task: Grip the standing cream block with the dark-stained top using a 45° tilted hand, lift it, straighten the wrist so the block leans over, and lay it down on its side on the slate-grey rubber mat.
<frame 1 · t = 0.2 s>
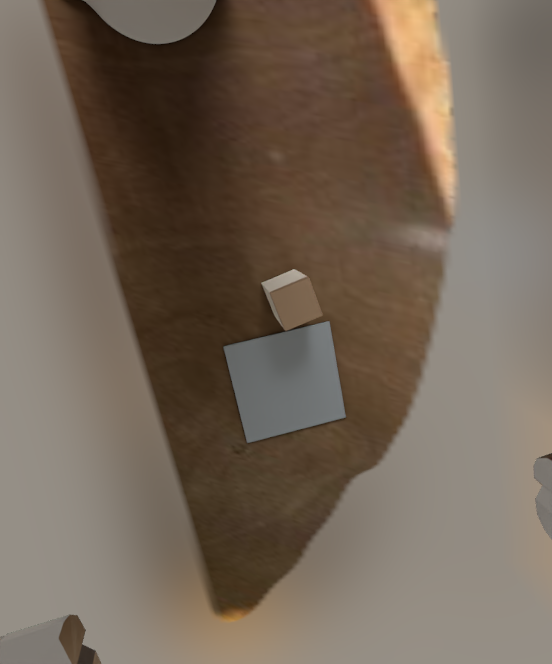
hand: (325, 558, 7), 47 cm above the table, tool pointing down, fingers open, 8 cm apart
slate mat: (286, 382, 58), on the table
cream block: (284, 292, 55), on the table
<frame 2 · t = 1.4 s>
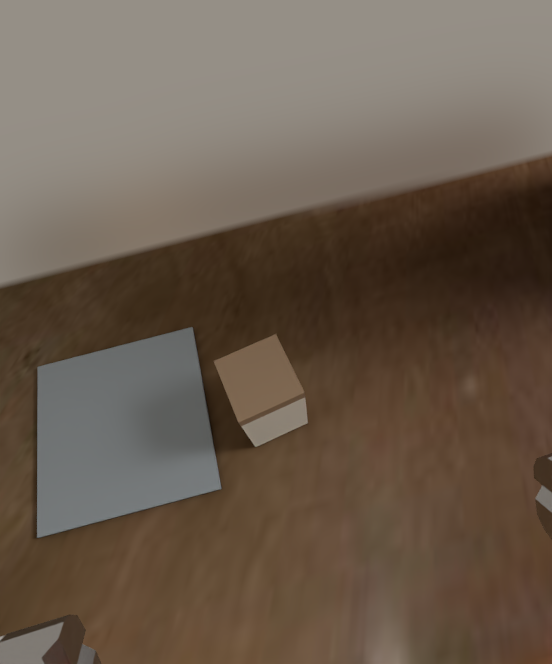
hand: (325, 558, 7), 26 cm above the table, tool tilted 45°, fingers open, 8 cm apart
slate mat: (123, 423, 36), on the table
cream block: (270, 409, 35), on the table
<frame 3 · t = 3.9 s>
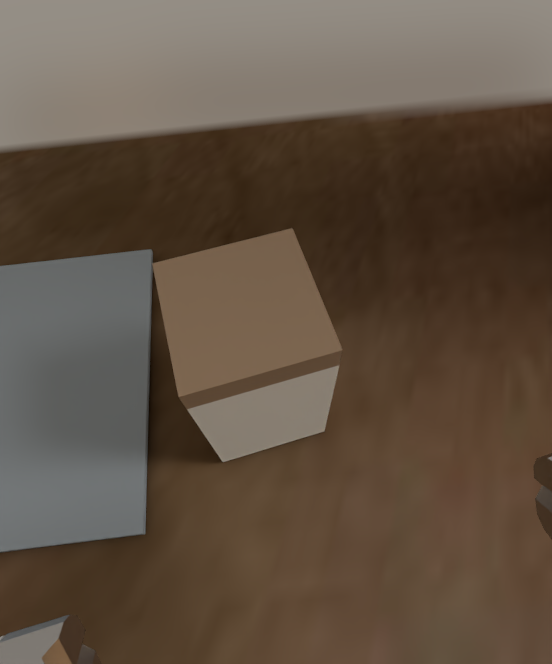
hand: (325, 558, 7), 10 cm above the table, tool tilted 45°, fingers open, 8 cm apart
cream block: (260, 398, 20), on the table
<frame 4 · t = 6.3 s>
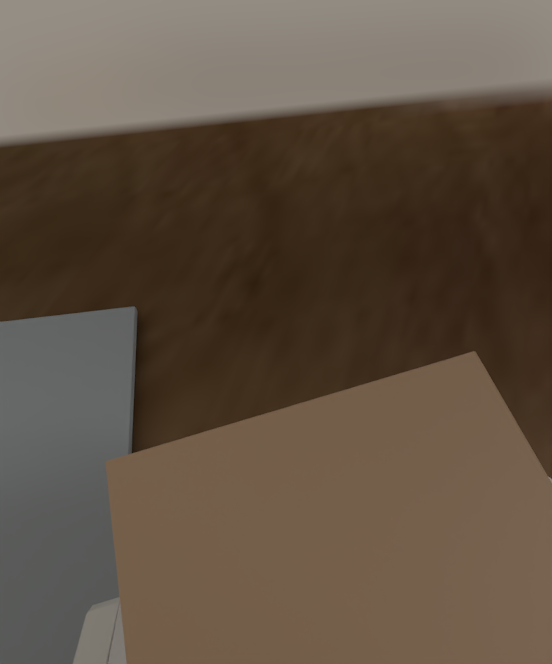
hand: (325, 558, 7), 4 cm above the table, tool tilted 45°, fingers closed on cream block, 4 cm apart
cream block: (322, 589, 11), on the table, touching gripper
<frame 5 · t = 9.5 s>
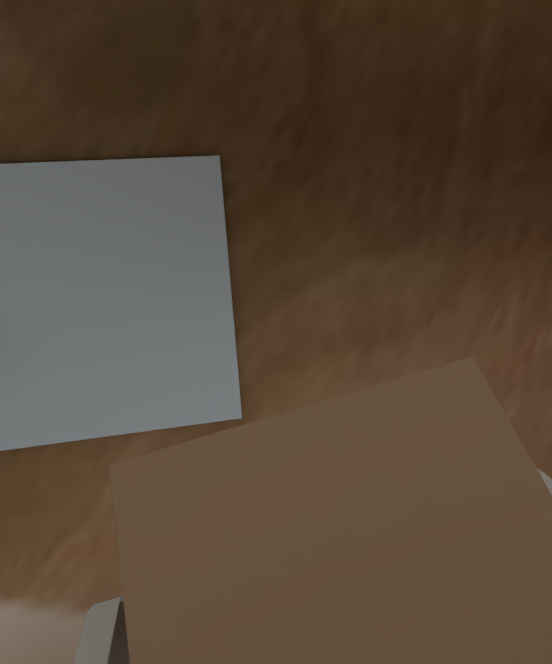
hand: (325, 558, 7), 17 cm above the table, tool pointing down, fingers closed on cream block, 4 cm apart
slate mat: (93, 308, 22), on the table
cream block: (323, 590, 11), point 14 cm above the table, tilted 45°, touching gripper
when the fingers open (6 cm above the table, at t = 12.7 s): cream block moves 2 cm and tips over, resting on slate mat.
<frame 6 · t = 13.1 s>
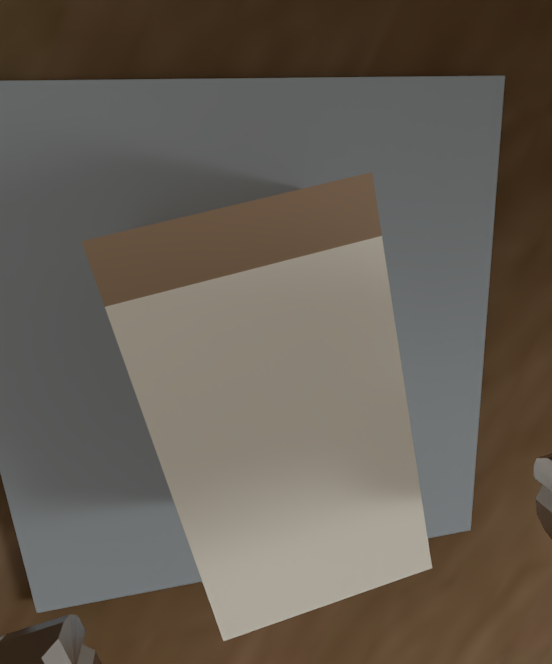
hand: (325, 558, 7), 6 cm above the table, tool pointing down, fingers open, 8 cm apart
slate mat: (254, 358, 12), on the table
cream block: (304, 528, 11), point 3 cm above the table, tilted 90°, touching slate mat
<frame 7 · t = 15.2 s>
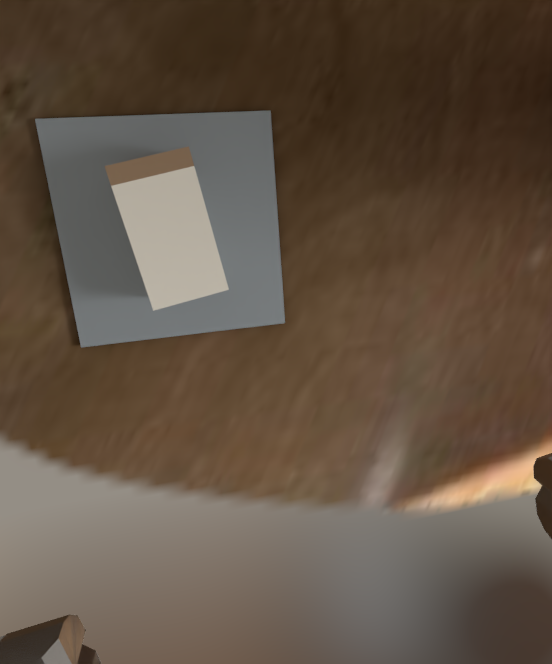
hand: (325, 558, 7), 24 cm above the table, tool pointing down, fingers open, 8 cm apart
slate mat: (173, 231, 29), on the table
cream block: (191, 293, 27), point 3 cm above the table, tilted 90°, touching slate mat
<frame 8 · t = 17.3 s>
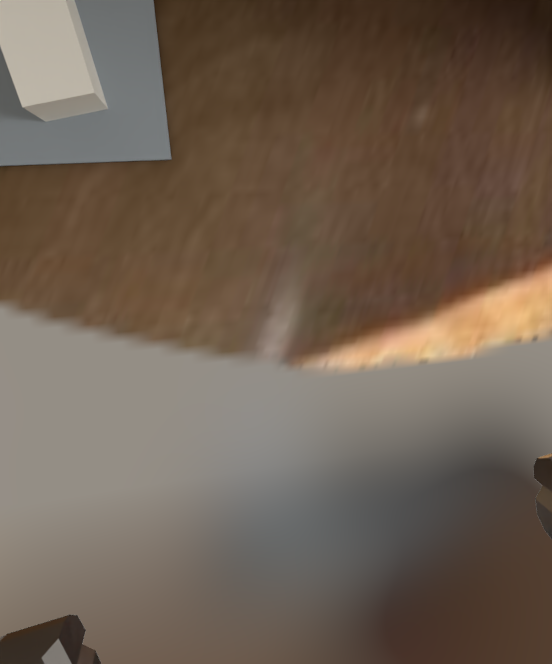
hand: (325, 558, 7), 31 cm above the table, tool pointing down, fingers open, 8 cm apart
slate mat: (58, 58, 31), on the table
cream block: (68, 108, 30), point 3 cm above the table, tilted 90°, touching slate mat
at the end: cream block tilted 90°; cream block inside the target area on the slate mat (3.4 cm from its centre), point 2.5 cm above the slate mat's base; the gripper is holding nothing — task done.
